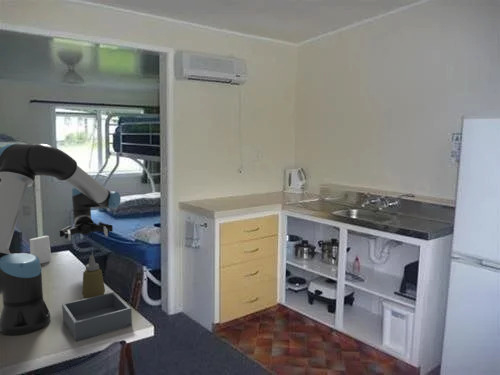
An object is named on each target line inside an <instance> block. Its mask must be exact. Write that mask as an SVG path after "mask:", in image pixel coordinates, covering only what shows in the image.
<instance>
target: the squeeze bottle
mask: <svg viewBox="0 0 500 375" xmlns="http://www.w3.org/2000/svg"><path fill="white" fill-rule="evenodd" d="M95 259H96V258H95V257H94V254H91V255H90V254H89V259H88V263H87V264H85V270H84V271H83V273H82V291H81V292H82V294H81V295H82V296H83V299H86V298H90V297H95V296H99V295H103V294H105V291H106V287H105V281H104V277H103V271H102V269H100V265H99V263H97V262H96V260H95Z"/></svg>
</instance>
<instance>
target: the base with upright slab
mask: <svg viewBox="0 0 500 375" xmlns="http://www.w3.org/2000/svg"><path fill="white" fill-rule="evenodd" d="M50 244H51V243H50V236H49V235H43V236H39V237H38V236H37V237H33V238H29V248H30V250H29V252H30V253H29V254H32V255H35V256H37V257H38V258H39V261H40V265H41V264H46V263H49V262H51V261H52V254H51V251H52V250H51V245H50Z"/></svg>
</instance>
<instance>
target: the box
mask: <svg viewBox="0 0 500 375" xmlns="http://www.w3.org/2000/svg"><path fill="white" fill-rule="evenodd" d="M61 312H62V322H63V323H64V324H65V327H66V329H68V331H69V333H70V334H71V336H72V338H73V339H74V341H75V342H78V341H82V340H87V339H90V338H93V337H97V336H100V335H103V334H107V333H111V332H115V331H118V330H122V329H125V328H128V327H132V326H133V320H132V319H133V318H132V308H131V306H129V305H128V303H126V301H124V300H123V299H122V298H121V297H120V296H119V295H118V294H117V293H116V292H115V291H113V292H108V293H104V294H103V295H99V296H95V297H90V298H86V299H84V298H82V299H78V300H73V301H69V302H65V303H61Z"/></svg>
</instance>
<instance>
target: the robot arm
mask: <svg viewBox="0 0 500 375" xmlns="http://www.w3.org/2000/svg"><path fill="white" fill-rule="evenodd" d="M36 176H48V177H53V178H54V179H56V180H58V181H63V182H65V183H66V184H69V185H70V186H71V187H72V189H71V198H72V199H71V200H72V201H71V202H72V214H73V215H72V222H73V224H74V226H72V225H71V224H69V225H67V226H65V227H64V228H62V229H60V230H59V237H60V238H61V237H62V238H63V237H64V238H65V239H68V241H72V236H73V235H75V234H78V235H79V234H80V235H89V234H90V233H95V232H102V233H103V234H104V236H105V237H108V236H109V234H108V233H110V232H114V231H113V230H114V229H113V227H114V226H113V225H112V224H109V223H105V222H101V221H100V222H98V224H96V223H94V220H93V219H92V209H91V208H98V209H99V208H101V209H115V208H118V207H119V206H120V204H121V201H122V200H121V195H120V193H119V192H118V191H113V190H112V191H111V190H109V189H107V188H106V187H105V186H103V185H102V184H101V183H100V182H99V181H97V180H96V179H95V178H94V177H92V176H91V175H90V174H88V173H87V172H86V171H85V170H84V169H82V168H81V167H80V166H79V165H78V164H77V161H76V160H75V159H74V158H73V157H71V155H69V154H68V153H66V152H65V151H62V150H61V149H59V148H57V147H55V146H52V145H50V144H45V143H17V142H16V143H12V144H6V145H4V146H2V147H0V180H1V181H0V295H2V305H3V306H2V309H1V310H2V311H1V313H0V333H1V334H2V335H7V336H8V335H9V336H17V335H25V334H29V333H33V332H35V331H36V332H37V331H39V330H40V329H43V328H45V327H46V326H47V325H49V324H50V323H51V312H50V310H49V308H48V306H47V305H46V302H45V300H44V294H43V293H44V292H43V278H42V265H41V264H40V261H39V258H38V257H37V256H35V255H32V254H30V253H26V252H19V253H17V252H16V253H11V252H10V250H9V249H10V247H11V242H12V239H13V235H14V233H15V229H16V226H17V223H18V219H19V215H20V213H21V209H22V206H23V204H24V199H25V195H26V193H27V190H28V187H29V186H31V185H33V184H34V181H35V177H36Z"/></svg>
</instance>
